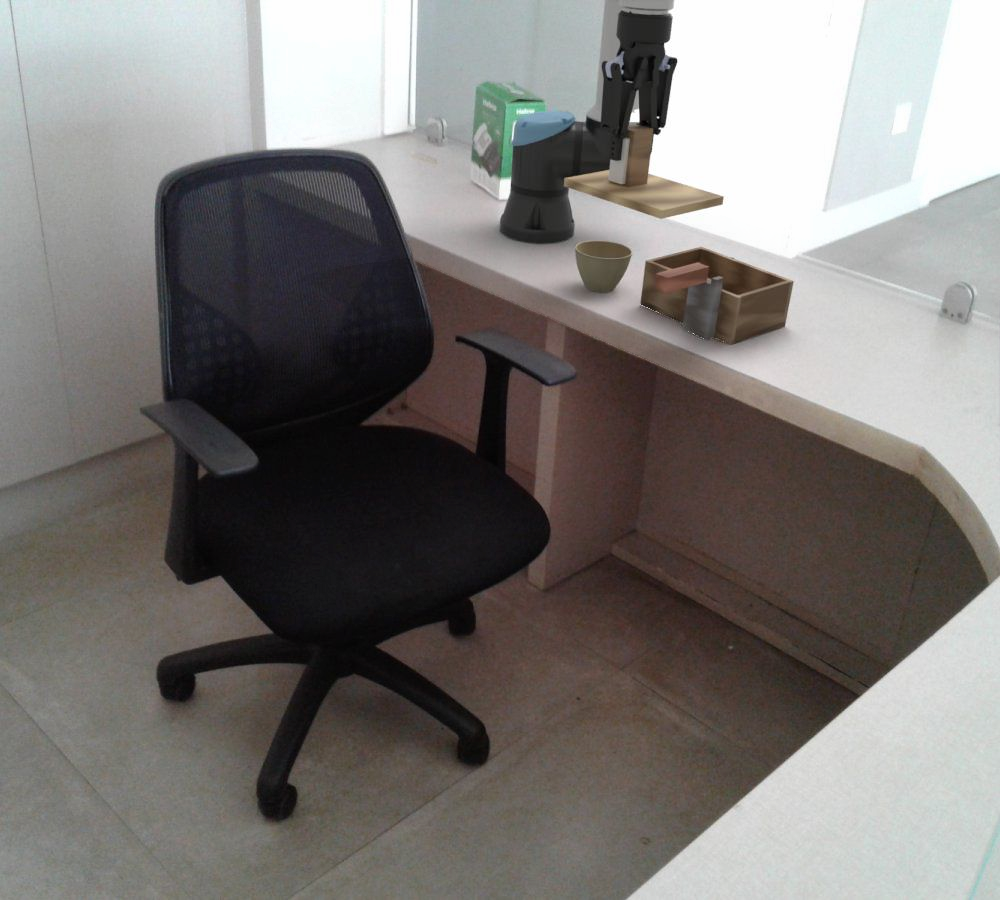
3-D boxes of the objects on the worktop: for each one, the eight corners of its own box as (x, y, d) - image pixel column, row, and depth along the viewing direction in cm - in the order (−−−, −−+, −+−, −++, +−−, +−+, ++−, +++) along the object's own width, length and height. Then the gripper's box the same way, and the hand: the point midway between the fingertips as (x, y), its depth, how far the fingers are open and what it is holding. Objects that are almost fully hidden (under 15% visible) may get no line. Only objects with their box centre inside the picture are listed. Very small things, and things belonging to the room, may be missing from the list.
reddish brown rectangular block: (654, 288, 160) (656, 273, 159) (695, 277, 166) (697, 262, 164) (665, 293, 159) (667, 277, 157) (706, 281, 164) (709, 266, 163)
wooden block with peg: (563, 186, 157) (568, 123, 152) (625, 174, 165) (631, 114, 160) (660, 218, 144) (669, 151, 140) (722, 204, 152) (732, 140, 148)
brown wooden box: (632, 307, 179) (639, 249, 174) (694, 289, 188) (702, 234, 183) (722, 347, 166) (733, 286, 161) (784, 326, 175) (796, 268, 170)
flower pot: (619, 301, 181) (624, 262, 178) (564, 291, 184) (568, 252, 180) (634, 283, 189) (638, 245, 186) (581, 274, 192) (584, 236, 189)
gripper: (623, 16, 137) (605, 193, 148) (707, 11, 147) (684, 178, 158) (582, 9, 142) (568, 181, 153) (666, 5, 152) (647, 167, 163)
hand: (627, 179), depth 156 cm, fingers closed on wooden block with peg, 4 cm apart
